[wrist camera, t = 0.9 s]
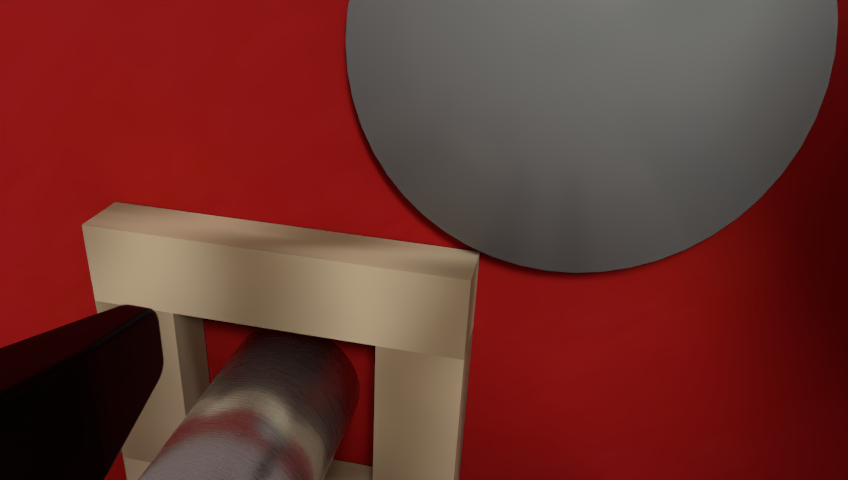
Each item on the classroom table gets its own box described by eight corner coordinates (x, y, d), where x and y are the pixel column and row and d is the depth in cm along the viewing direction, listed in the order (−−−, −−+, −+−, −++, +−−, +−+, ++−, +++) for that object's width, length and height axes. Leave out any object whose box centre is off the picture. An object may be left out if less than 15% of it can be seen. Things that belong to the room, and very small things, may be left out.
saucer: (903, -203, 16) (913, -206, 15) (760, 290, 21) (764, 301, 20) (352, -221, 18) (345, -225, 17) (351, 234, 23) (345, 242, 22)
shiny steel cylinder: (360, 335, 25) (265, 519, 18) (359, 442, 27) (274, 645, 20) (230, 314, 25) (89, 483, 18) (238, 420, 27) (115, 608, 20)
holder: (480, 252, 22) (471, 280, 21) (453, 537, 28) (445, 577, 26) (115, 201, 24) (81, 224, 23) (157, 477, 30) (132, 511, 28)
